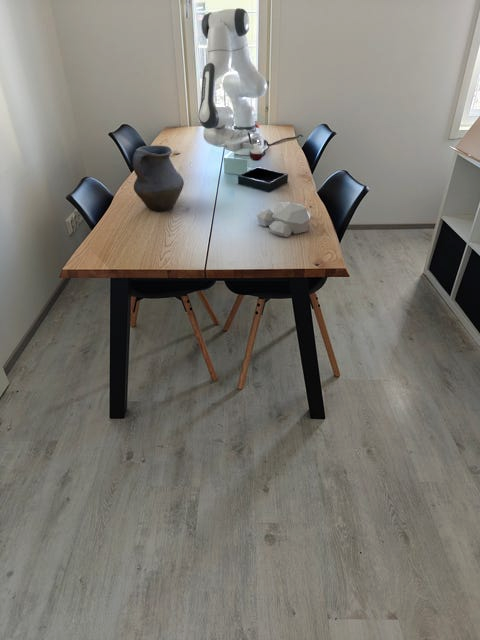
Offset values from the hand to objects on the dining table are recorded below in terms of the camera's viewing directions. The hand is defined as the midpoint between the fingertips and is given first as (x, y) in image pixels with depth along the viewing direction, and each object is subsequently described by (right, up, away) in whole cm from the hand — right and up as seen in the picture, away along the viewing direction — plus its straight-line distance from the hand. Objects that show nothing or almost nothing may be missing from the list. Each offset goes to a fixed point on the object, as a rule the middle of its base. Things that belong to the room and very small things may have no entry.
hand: (256, 144), depth 198 cm
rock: (+9, -43, -30) cm, 53 cm away
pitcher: (-41, -32, -14) cm, 54 cm away
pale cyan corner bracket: (-8, -4, +23) cm, 25 cm away
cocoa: (-1, -5, +4) cm, 7 cm away
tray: (+3, -15, +8) cm, 17 cm away
